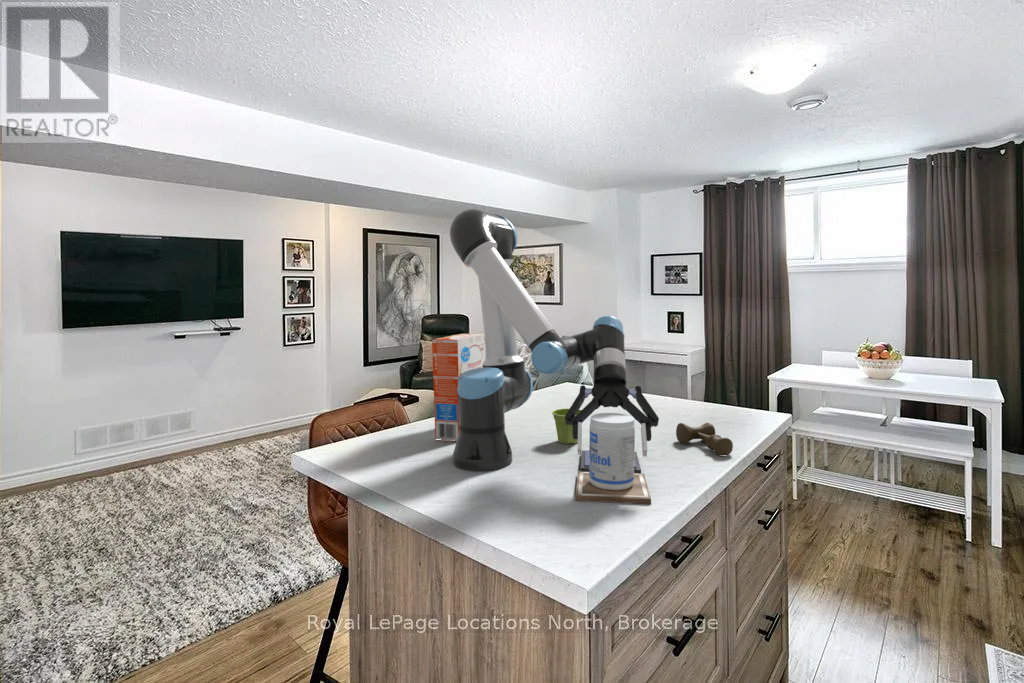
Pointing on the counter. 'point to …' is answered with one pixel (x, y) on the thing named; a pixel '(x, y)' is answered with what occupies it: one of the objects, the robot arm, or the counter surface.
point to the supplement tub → (612, 451)
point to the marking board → (613, 491)
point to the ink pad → (585, 462)
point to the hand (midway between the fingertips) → (612, 452)
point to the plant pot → (563, 427)
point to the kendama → (704, 437)
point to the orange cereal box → (452, 377)
